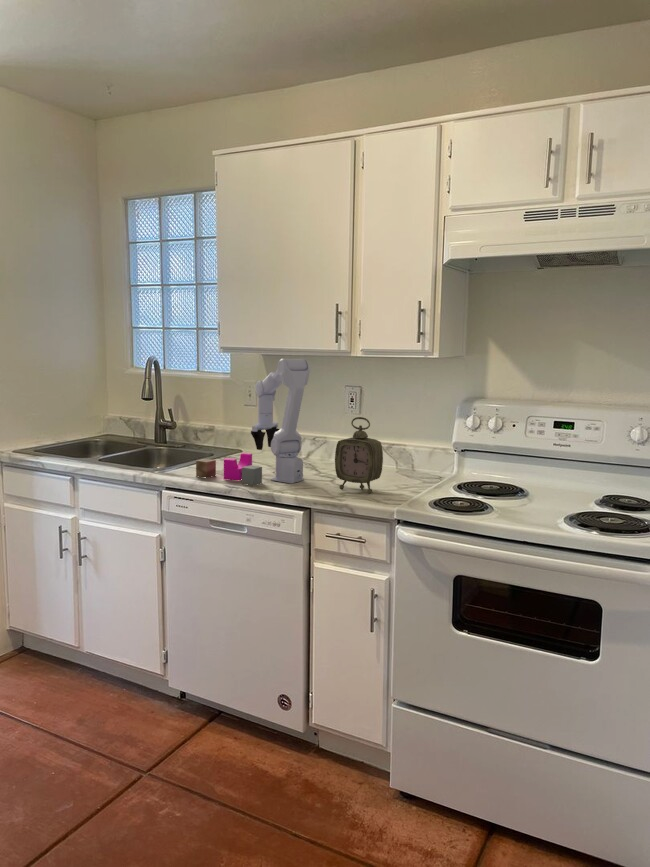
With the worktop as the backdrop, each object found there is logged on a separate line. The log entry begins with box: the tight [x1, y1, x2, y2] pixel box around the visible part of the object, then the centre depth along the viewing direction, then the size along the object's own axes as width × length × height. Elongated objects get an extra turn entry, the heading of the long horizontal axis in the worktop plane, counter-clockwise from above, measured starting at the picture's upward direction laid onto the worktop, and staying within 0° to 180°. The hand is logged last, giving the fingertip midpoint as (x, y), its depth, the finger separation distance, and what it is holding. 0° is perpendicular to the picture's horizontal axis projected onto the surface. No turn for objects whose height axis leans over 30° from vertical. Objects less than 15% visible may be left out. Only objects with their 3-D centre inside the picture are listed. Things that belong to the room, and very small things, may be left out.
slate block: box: [241, 464, 263, 486], centre depth 231 cm, size 5×5×6 cm
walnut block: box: [195, 458, 217, 479], centre depth 242 cm, size 5×5×6 cm
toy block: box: [223, 452, 253, 481], centre depth 243 cm, size 15×6×8 cm, turn 160°
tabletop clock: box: [334, 416, 384, 494], centre depth 224 cm, size 14×9×25 cm, turn 59°
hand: (265, 448), depth 253 cm, fingers open, 7 cm apart
